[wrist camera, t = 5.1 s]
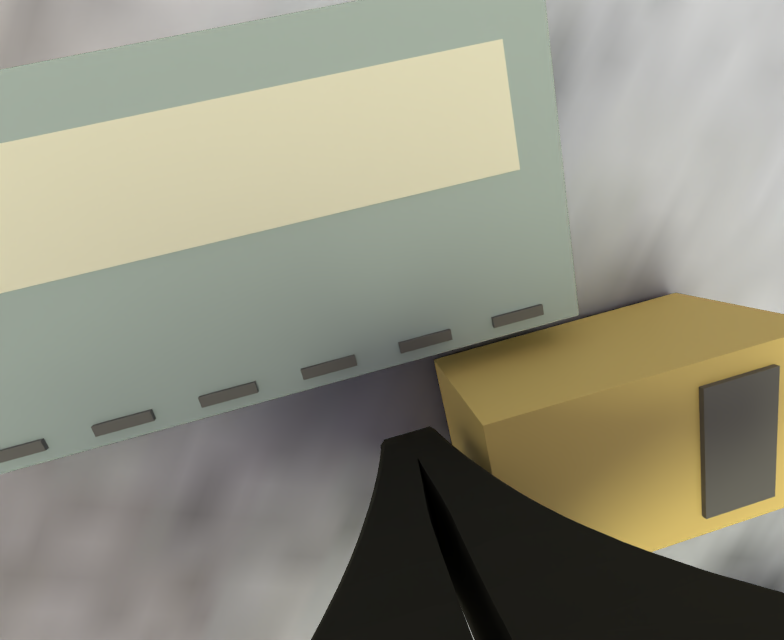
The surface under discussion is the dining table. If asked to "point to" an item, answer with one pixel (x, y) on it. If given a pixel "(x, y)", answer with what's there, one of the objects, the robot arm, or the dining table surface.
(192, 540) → the dining table surface
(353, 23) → the ticket pad
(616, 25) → the dining table surface
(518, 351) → the stub
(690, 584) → the robot arm
